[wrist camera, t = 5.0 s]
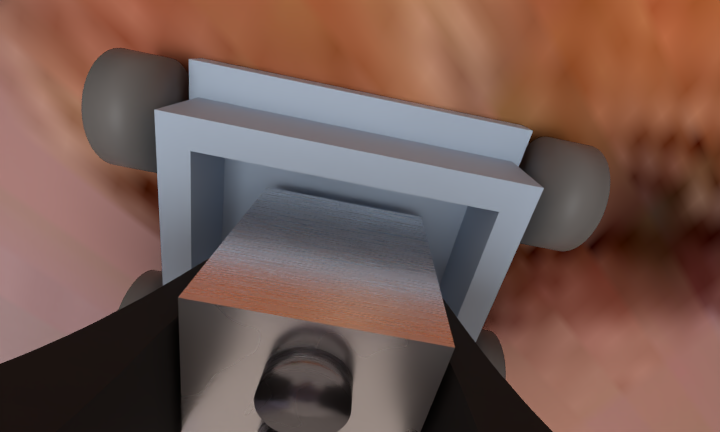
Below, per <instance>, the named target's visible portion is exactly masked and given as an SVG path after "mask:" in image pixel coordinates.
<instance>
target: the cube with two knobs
mask: <svg viewBox="0 0 720 432" xmlns="http://www.w3.org/2000/svg"><path fill="white" fill-rule="evenodd" d="M178 312H179V344H180V377H181V409H182V432H421V429H422V427H423V425H424V422H425V420H426V417H427V415H428V412H429V410H430V407H431V405H432V403H433V400H434V398H435V395H436V393H437V390H438V388H439V385H440V383H441V381H442V378H443V376H444V373H445V371H446V368H447V366H448V364H449V361H450V359H451V356H452V354H453V351H454V349H455V346H454V342H453V338H452V334H451V330H450V326H449V322H448V318H447V314H446V311H445V307H444V303H443V299H442V295H441V291H440V287H439V283H438V279H437V276H436V272H435V268H434V264H433V260H432V256H431V252H430V248H429V244H428V241H427V237H426V233H425V229H424V225H423V221H422V217H418V216H413V215H408V214H403V213H398V212H393V211H388V210H383V209H377V208H372V207H367V206H362V205H357V204H352V203H347V202H342V201H336V200H331V199H326V198H321V197H316V196H311V195H306V194H301V193H295V192H290V191H285V190H280V189H275V188H270V187H266V189H265V190H264V191H263V192H262V194H261V195H260V196H259V197H258V198H257V200H256V201H255V202H254V203H253V205H252V206H251V207H250V208H249V210H248V211H247V212H246V213H245V215H244V216H243V217H242V218H241V220H240V221H239V222H238V223H237V225H236V226H235V227H234V228H233V230H232V231H231V232H230V233H229V235H228V236H227V237H226V238H225V240H224V241H223V242H222V243H221V245H220V246H219V247H218V248H217V250H216V251H215V252H214V253H213V255H212V256H211V257H210V258H209V259H208V261H207V262H206V263H205V264H204V266H203V267H202V268H201V269H200V271H199V272H198V273H197V274H196V276H195V277H194V278H193V279H192V281H191V282H190V283H189V284H188V286H187V287H186V288H185V289H184V291H183V292H182V293H181V294H180V296H179V297H178Z"/></svg>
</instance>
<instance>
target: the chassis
mask: <svg viewBox="0 0 720 432" xmlns="http://www.w3.org/2000/svg"><path fill="white" fill-rule="evenodd" d="M82 120H83V125H84V130H85V133H86V136H87V139H88V141H89V143H90V145H91V147H92V149H93V150H94V151H95V153H96V154H97V155H98V156H99V157H100V158H101V159H103V160H104V161H105V162H108V163H110V164H113V165H118V166H123V167H128V168H134V169H139V170H144V171H149V172H154V173H157V177H158V197H159V218H160V238H161V258H162V271H157V270H150V271H147V272H145V273H143V274H142V275H141V276H140V277H139V278H138V279H137V280H136V281H135V282H134V283H133V284H132V286H131V287H130V288H129V290H128V291H127V293H126V295H125V297H124V299H123V301H122V303H121V305H120V307H119V310H120V309H122V308H124V307H125V306H127V305H129V304H131V303H133V302H135V301H137V300H139V299H141V298H143V297H144V296H146V295H148V294H150V293H151V292H153V291H155V290H157V289H158V288H160V287H162V286H163V285H165V284H167V283H169V282H170V281H172V280H174V279H175V278H177V277H179V276H180V275H182V274H184V273H185V272H187V271H189V270H190V269H192V268H194V267H195V266H197V265H199V264H200V263H202V262H203V261H205V260H207V259H208V258H210V257H211V256H212V255H213V253H214V252H215V251H216V250H217V248H218V247H219V246H220V245H221V243H222V242H223V241H224V240H225V238H226V237H227V236H228V235H229V233H230V232H231V231H232V230H233V228H234V227H235V226H236V225H237V223H238V222H239V221H240V220H241V218H242V217H243V216H244V215H245V213H246V212H247V211H248V210H249V208H250V207H251V206H252V205H253V203H254V202H255V201H256V200H257V198H258V197H259V196H260V195H261V194H262V192H263V191H264V190H265V189H266V187H270V188H275V189H280V190H285V191H290V192H295V193H301V194H306V195H311V196H316V197H321V198H326V199H331V200H336V201H342V202H347V203H352V204H357V205H362V206H367V207H372V208H377V209H383V210H388V211H393V212H398V213H403V214H408V215H413V216H418V217H422V221H423V225H424V229H425V233H426V237H427V241H428V244H429V248H430V252H431V256H432V260H433V264H434V268H435V272H436V276H437V279H438V283H439V287H440V291H441V295H442V298H443V299H444V300H445V302H446V303H447V304H448V306H449V307H450V309H451V310H452V311H453V313H454V314H455V315H456V317H457V318H458V320H459V321H460V322H461V324H462V325H463V326H464V328H465V329H466V330H467V332H468V333H469V335H470V336H471V337H472V339H473V340H474V341H475V342H476V344H477V345H478V346H479V348H480V349H481V350H482V352H483V353H484V354H485V355H486V357H487V358H488V359H489V361H490V362H491V363H492V364H493V366H494V367H495V368H496V369H497V370H498V372H499V373H500V374H501V375H502V377H503V378H504V379H505V378H506V370H505V360H504V354H503V350H502V347H501V344H500V342H499V339H498V338H497V336H496V335H495V334H494V333H493V332H491V331H488V330H483V329H482V327H483V325H484V323H485V320H486V318H487V316H488V314H489V311H490V309H491V307H492V304H493V302H494V300H495V298H496V295H497V293H498V291H499V289H500V286H501V284H502V282H503V280H504V277H505V275H506V273H507V271H508V268H509V266H510V264H511V262H512V259H513V257H514V255H515V253H516V250H517V248H518V246H519V243H521V244H526V245H531V246H537V247H542V248H547V249H552V250H557V251H568V250H572V249H574V248H576V247H578V246H579V245H581V244H582V243H583V242H584V241H586V240H587V239H588V238H589V236H590V235H591V234H592V233H593V231H594V230H595V229H596V227H597V225H598V224H599V222H600V220H601V218H602V216H603V214H604V211H605V208H606V205H607V201H608V197H609V191H610V172H609V167H608V163H607V161H606V159H605V157H604V155H603V154H602V153H601V152H600V151H599V150H598V149H597V148H595V147H593V146H589V145H584V144H579V143H575V142H570V141H565V140H560V139H555V138H551V137H540V138H537V139H535V140H534V141H532V142H531V143H530V144H529V145H528V142H529V140H530V137H531V135H532V132H533V131H532V130H530V129H528V128H526V127H525V126H523V125H518V124H514V123H509V122H504V121H499V120H494V119H490V118H485V117H480V116H475V115H471V114H466V113H461V112H456V111H452V110H447V109H442V108H437V107H432V106H428V105H423V104H418V103H413V102H409V101H404V100H399V99H394V98H390V97H385V96H380V95H375V94H370V93H366V92H361V91H356V90H351V89H347V88H342V87H337V86H332V85H327V84H323V83H318V82H313V81H308V80H304V79H299V78H294V77H289V76H285V75H280V74H275V73H270V72H265V71H261V70H256V69H251V68H246V67H242V66H237V65H232V64H227V63H223V62H218V61H213V60H208V59H203V58H196V59H189V76H188V73H187V72H186V70H185V68H184V67H183V66H182V65H181V64H180V63H179V62H178V61H177V60H175V59H172V58H167V57H163V56H158V55H153V54H148V53H143V52H139V51H134V50H129V49H124V48H113V49H111V50H108V51H106V52H105V53H103V54H102V55H101V56H100V57H99V58H98V59H97V60H96V61H95V62H94V64H93V65H92V67H91V69H90V71H89V73H88V75H87V78H86V81H85V84H84V89H83V94H82ZM527 145H528V146H527Z"/></svg>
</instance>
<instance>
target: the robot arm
mask: <svg viewBox="0 0 720 432" xmlns="http://www.w3.org/2000/svg"><path fill="white" fill-rule="evenodd" d="M208 259H209V258H208ZM208 259H207V260H205V261H203V262H202V263H200V264H199V265H197V266H195V267H194V268H192V269H190V270H189V271H187V272H185V273H184V274H182V275H180V276H179V277H177V278H175V279H174V280H172V281H170V282H169V283H167V284H165V285H163V286H162V287H160V288H158V289H157V290H155V291H153V292H151V293H150V294H148V295H146V296H144V297H143V298H141V299H139V300H137V301H135V302H133V303H131V304H129V305H127V306H125V307H124V308H122V309H120V310H118V311H116V312H114V313H112V314H110V315H108V316H107V317H105V318H103V319H101V320H99V321H97V322H95V323H93V324H91V325H89V326H87V327H85V328H83V329H80V330H78V331H76V332H74V333H72V334H70V335H68V336H65V337H63V338H61V339H59V340H56V341H54V342H52V343H50V344H47V345H45V346H43V347H40V348H38V349H36V350H34V351H31V352H29V353H26V354H24V355H22V356H19V357H17V358H14V359H12V360H9V361H6V362H4V363H1V364H0V432H181V431H182V409H181V377H180V344H179V312H178V297H179V296H180V294H181V293H182V292H183V291H184V289H185V288H186V287H187V286H188V284H189V283H190V282H191V281H192V279H193V278H194V277H195V276H196V274H197V273H198V272H199V271H200V269H201V268H202V267H203V266H204V264H205V263H206V262H207V261H208ZM442 299H443V298H442ZM443 303H444V307H445V311H446V314H447V318H448V322H449V326H450V330H451V334H452V338H453V342H454V346H455V349H454V351H453V354H452V356H451V359H450V361H449V364H448V366H447V368H446V371H445V373H444V376H443V378H442V381H441V383H440V385H439V388H438V390H437V393H436V395H435V398H434V400H433V403H432V405H431V407H430V410H429V412H428V415H427V417H426V420H425V422H424V425H423V427H422V429H421V432H552V431H551V430H550V429H549V427H548V426H547V425H546V424H545V423H544V422H543V421H542V420H541V419H540V418H539V417H538V416H537V415H536V414H535V413H534V412H533V411H532V410H531V409H530V407H529V406H528V405H527V404H526V403H525V402H524V401H523V400H522V399H521V397H520V396H519V395H518V394H517V393H516V392H515V390H514V389H513V388H512V387H511V386H510V385H509V384H508V382H507V381H506V380H505V379H504V378H503V377H502V375H501V374H500V373H499V372H498V370H497V369H496V368H495V367H494V366H493V364H492V363H491V362H490V361H489V359H488V358H487V357H486V355H485V354H484V353H483V352H482V350H481V349H480V348H479V346H478V345H477V344H476V342H475V341H474V340H473V339H472V337H471V336H470V335H469V333H468V332H467V330H466V329H465V328H464V326H463V325H462V324H461V322H460V321H459V320H458V318H457V317H456V315H455V314H454V313H453V311H452V310H451V309H450V307H449V306H448V304H447V303H446V302H445V300H444V299H443Z"/></svg>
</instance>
